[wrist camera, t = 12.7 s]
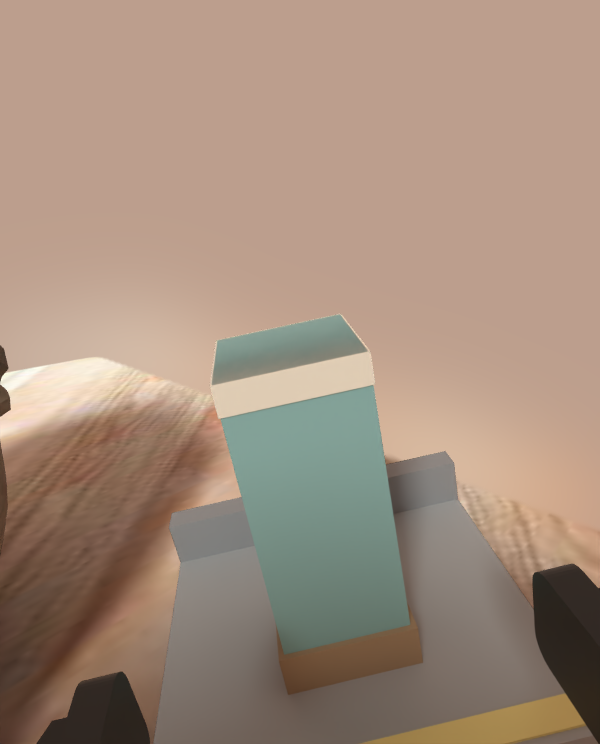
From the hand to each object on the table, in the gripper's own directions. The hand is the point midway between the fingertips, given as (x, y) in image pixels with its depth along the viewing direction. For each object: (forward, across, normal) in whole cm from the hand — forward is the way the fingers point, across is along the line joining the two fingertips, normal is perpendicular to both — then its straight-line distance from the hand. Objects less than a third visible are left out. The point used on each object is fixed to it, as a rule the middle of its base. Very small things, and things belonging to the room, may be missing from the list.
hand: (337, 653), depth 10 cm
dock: (+8, 0, +11) cm, 14 cm away
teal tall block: (+8, 0, +8) cm, 11 cm away
